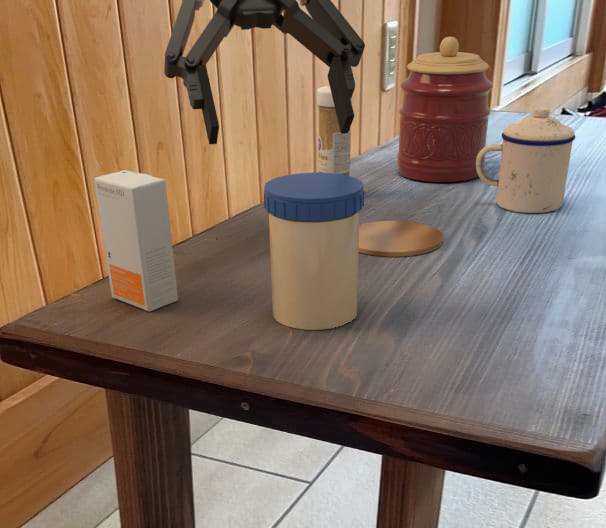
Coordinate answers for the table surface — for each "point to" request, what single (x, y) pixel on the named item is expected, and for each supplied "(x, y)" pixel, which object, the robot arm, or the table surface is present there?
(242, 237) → the table surface
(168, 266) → the cosmetic box
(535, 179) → the teacup with lid
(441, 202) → the table surface
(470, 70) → the kitchen canister
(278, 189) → the lid
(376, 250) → the coaster
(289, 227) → the jar
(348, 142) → the brown spice bottle
